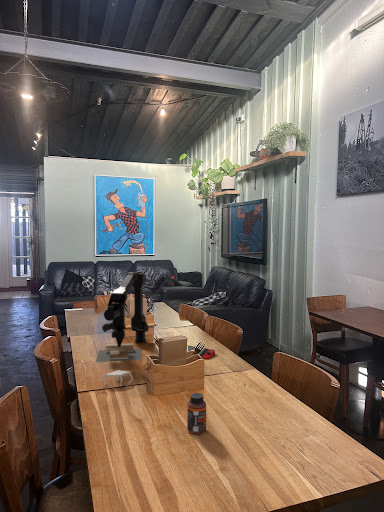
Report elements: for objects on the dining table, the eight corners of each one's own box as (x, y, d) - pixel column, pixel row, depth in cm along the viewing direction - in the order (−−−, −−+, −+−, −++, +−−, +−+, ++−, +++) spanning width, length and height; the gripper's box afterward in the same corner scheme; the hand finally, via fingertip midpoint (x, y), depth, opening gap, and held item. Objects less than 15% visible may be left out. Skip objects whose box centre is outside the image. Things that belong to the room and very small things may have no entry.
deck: (109, 354, 181) (109, 359, 181) (128, 353, 182) (128, 358, 182) (110, 350, 187) (110, 355, 187) (128, 350, 188) (128, 354, 188)
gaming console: (157, 348, 195) (167, 341, 203) (158, 356, 195) (167, 348, 204) (207, 355, 181) (215, 347, 190) (208, 363, 182) (216, 354, 191)
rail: (106, 351, 194) (106, 344, 194) (133, 350, 197) (133, 343, 196) (106, 353, 191) (106, 346, 191) (133, 352, 194) (133, 344, 193)
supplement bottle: (200, 437, 112) (200, 401, 112) (183, 431, 115) (183, 396, 115) (209, 428, 117) (209, 393, 117) (193, 423, 120) (193, 389, 120)
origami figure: (126, 377, 159) (126, 366, 159) (133, 384, 152) (133, 372, 152) (98, 383, 153) (98, 372, 153) (105, 391, 146) (105, 378, 145)
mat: (99, 351, 195) (99, 350, 195) (140, 349, 199) (140, 348, 199) (95, 362, 178) (95, 362, 178) (141, 360, 181) (141, 359, 181)
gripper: (104, 313, 195) (104, 342, 196) (101, 321, 177) (101, 353, 178) (125, 312, 197) (125, 341, 198) (124, 320, 178) (124, 352, 179)
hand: (119, 346), depth 188 cm, fingers closed
